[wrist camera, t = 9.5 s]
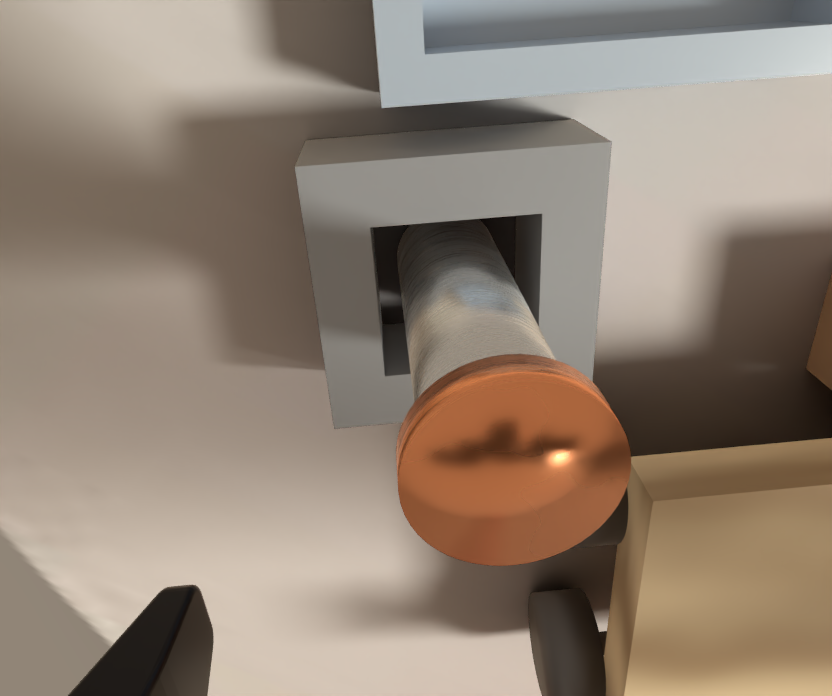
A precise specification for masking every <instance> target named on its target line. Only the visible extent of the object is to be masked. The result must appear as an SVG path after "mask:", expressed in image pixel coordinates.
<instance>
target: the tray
mask: <svg viewBox="0 0 832 696" xmlns="http://www.w3.org/2000/svg"><path fill="white" fill-rule="evenodd" d="M372 9H373V21H374V33H375V45H376V57H377V69H378V81H379V93H380V100H381V107H382V108H389V107H402V106H416V105H429V104H442V103H455V102H468V101H481V100H494V99H507V98H520V97H533V96H546V95H559V94H572V93H585V92H598V91H611V90H624V89H637V88H650V87H663V86H677V85H690V84H703V83H716V82H729V81H742V80H755V79H768V78H781V77H794V76H807V75H820V74H832V0H372Z"/></svg>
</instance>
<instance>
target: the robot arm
mask: <svg viewBox="0 0 832 696" xmlns="http://www.w3.org/2000/svg"><path fill="white" fill-rule="evenodd" d="M212 652H213V628H212V625H211V621H210V618H209V615H208V612H207V609H206V606H205V603H204V600H203V596H202V593H201V591H200V589H199V588H198V587H197V586H196V585H183V586H173V587H167V588H165V589H163V590H162V591H160V592H159V593H158V595H157V596H156V597H155V598H154V599H153V600H152V601H151V602H150V604H149V605H148V606H147V607H146V608H145V609H144V610H143V611H142V613H141V614H140V615H139V616H138V617H137V618H136V619H135V620H134V622H133V623H132V624H131V625H130V626H129V627H128V628H127V630H126V631H125V632H124V633H123V634H122V635H121V636H120V637H119V639H118V640H117V641H116V642H115V643H114V644H113V645H112V646H111V648H110V649H109V650H108V651H107V652H106V653H105V654H104V655H103V657H102V658H101V659H100V660H99V661H98V662H97V664H96V665H95V666H94V667H93V668H92V669H91V670H90V671H89V672H88V674H87V675H86V676H85V677H84V678H83V679H82V680H81V681H80V683H79V684H78V685H77V686H76V687H75V688H74V689H73V690H72V692H71V693H70V694H69V695H68V696H207V694H208V685H209V677H210V669H211V660H212Z"/></svg>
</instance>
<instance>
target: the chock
mask: <svg viewBox="0 0 832 696" xmlns="http://www.w3.org/2000/svg"><path fill="white" fill-rule="evenodd" d="M806 369H807V370H808V371H809V372H811V373H812V374H813V375H814V376H815V377H816V378H818V379H819V380H820V381H821V382H822V383H824V384H825V385H826V386H827V387H828V388H830V389H831V390H832V274H831V277H830V281H829V285H828V288H827V292H826V296H825V300H824V303H823V307H822V311H821V314H820V318H819V322H818V326H817V329H816V333H815V337H814V340H813V344H812V348H811V352H810V355H809V359H808V363H807V366H806Z"/></svg>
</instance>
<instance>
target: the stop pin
mask: <svg viewBox="0 0 832 696" xmlns="http://www.w3.org/2000/svg"><path fill="white" fill-rule="evenodd" d="M397 263H398V272H399V280H400V289H401V297H402V305H403V314H404V322H405V330H406V339H407V347H408V355H409V364H410V372H411V380H412V389H413V397H414V404H413V405H412V407H411V408H410V410H409V411H408V413H407V415H406V417H405V419H404V421H403V423H402V425H401V428H400V431H399V435H398V439H397V446H396V462H397V477H398V492H399V498H400V503H401V506H402V509H403V512H404V514H405V516H406V518H407V520H408V522H409V523H410V525H411V526H412V528H413V529H414V530H415V531H416V533H417V534H418V535H419V536H420V537H421V538H422V539H423V540H424V541H426V542H427V543H428V544H429V545H431V546H432V547H434V548H435V549H437V550H439V551H440V552H442V553H444V554H446V555H448V556H451V557H454V558H456V559H459V560H462V561H466V562H470V563H475V564H482V565H493V566H506V565H518V564H525V563H530V562H534V561H539V560H542V559H545V558H548V557H551V556H554V555H557V554H559V553H561V552H563V551H566V550H568V549H570V548H571V547H573V546H575V545H577V544H578V543H580V542H582V541H583V540H584V539H586V538H587V537H589V536H590V535H591V534H593V533H594V532H595V531H596V530H597V529H598V528H599V527H601V526H602V525H603V524H604V522H605V521H606V520H607V519H608V518H609V517H610V516H611V515H612V513H613V512H614V510H615V509H616V508H617V506H618V505H619V503H620V501H621V499H622V497H623V495H624V493H625V490H626V488H627V485H628V482H629V477H630V472H631V453H630V446H629V443H628V439H627V436H626V434H625V432H624V430H623V428H622V426H621V424H620V423H619V421H618V419H617V418H616V416H615V414H614V412H613V411H612V409H611V407H610V406H609V404H608V402H607V401H606V399H605V397H604V396H603V394H602V393H601V392H600V390H599V389H598V387H597V386H596V385H595V384H594V383H593V382H592V381H591V380H590V379H589V378H588V377H587V376H585V375H584V374H582V373H581V372H580V371H578V370H577V369H575V368H573V367H571V366H569V365H567V364H565V363H563V362H560V361H557V360H556V359H555V357H554V355H553V353H552V351H551V349H550V347H549V345H548V343H547V342H546V340H545V338H544V336H543V334H542V332H541V330H540V328H539V326H538V324H537V322H536V320H535V319H534V317H533V315H532V313H531V311H530V309H529V307H528V305H527V303H526V301H525V299H524V298H523V296H522V294H521V292H520V290H519V288H518V286H517V284H516V282H515V280H514V278H513V276H512V275H511V273H510V271H509V269H508V267H507V265H506V263H505V261H504V259H503V257H502V255H501V253H500V252H499V250H498V248H497V246H496V244H495V242H494V240H493V238H492V236H491V234H490V233H489V231H488V229H487V228H486V226H485V225H484V224H483V223H482V222H481V221H480V220H479V219H470V220H458V221H445V222H433V223H421V224H410V225H409V226H408V228H407V229H406V230H405V232H404V234H403V235H402V237H401V240H400V242H399V246H398V251H397Z"/></svg>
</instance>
